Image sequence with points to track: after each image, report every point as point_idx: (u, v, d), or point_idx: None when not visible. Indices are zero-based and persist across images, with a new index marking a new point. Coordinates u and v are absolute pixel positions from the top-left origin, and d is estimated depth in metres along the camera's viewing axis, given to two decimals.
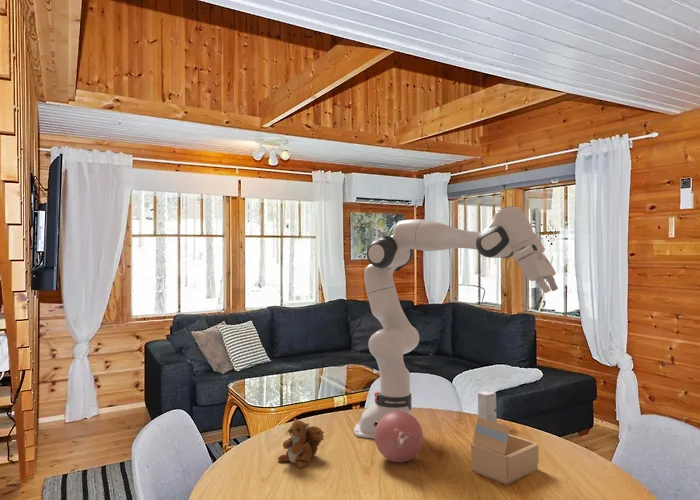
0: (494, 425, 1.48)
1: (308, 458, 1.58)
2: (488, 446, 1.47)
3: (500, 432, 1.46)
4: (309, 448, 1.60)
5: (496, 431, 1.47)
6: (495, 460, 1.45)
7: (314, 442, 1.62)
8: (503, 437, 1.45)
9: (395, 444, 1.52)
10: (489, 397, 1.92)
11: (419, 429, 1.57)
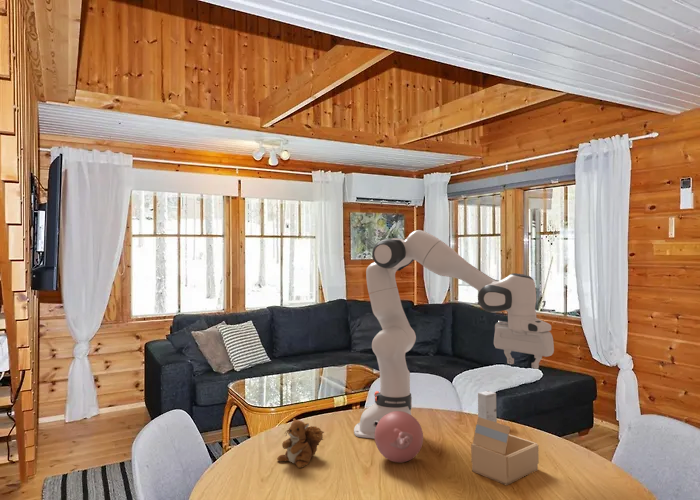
0: (494, 425, 1.48)
1: (307, 458, 1.58)
2: (488, 446, 1.47)
3: (500, 432, 1.46)
4: (308, 448, 1.60)
5: (496, 431, 1.47)
6: (495, 460, 1.45)
7: (313, 442, 1.62)
8: (503, 437, 1.45)
9: (395, 444, 1.52)
10: (489, 397, 1.92)
11: (420, 429, 1.57)
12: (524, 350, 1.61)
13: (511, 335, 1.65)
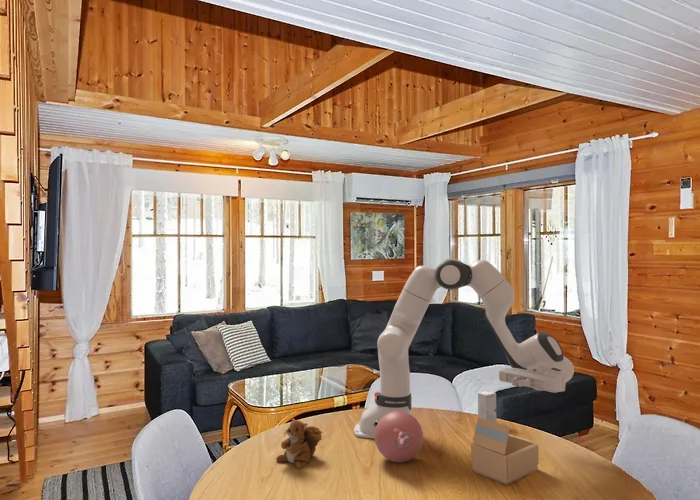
0: (494, 425, 1.48)
1: (306, 458, 1.58)
2: (488, 446, 1.47)
3: (500, 432, 1.46)
4: (307, 448, 1.60)
5: (496, 431, 1.47)
6: (495, 460, 1.45)
7: (312, 442, 1.62)
8: (503, 437, 1.45)
9: (395, 444, 1.52)
10: (489, 397, 1.92)
11: (419, 429, 1.57)
12: (531, 375, 1.58)
13: (525, 371, 1.64)
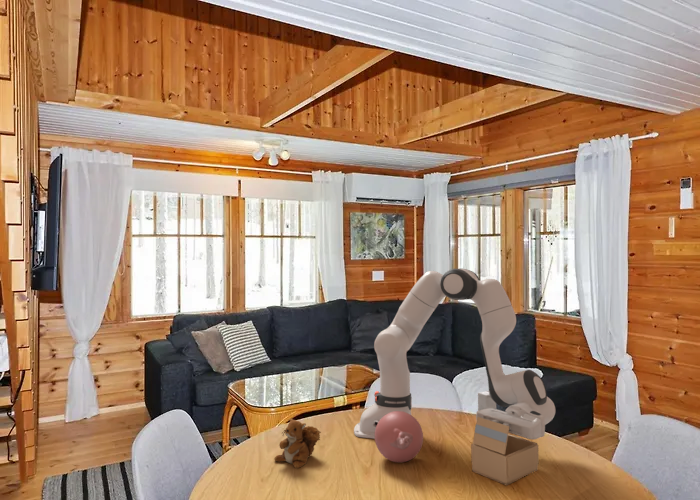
0: (494, 425, 1.48)
1: (305, 458, 1.58)
2: (488, 446, 1.47)
3: (499, 432, 1.46)
4: (305, 448, 1.60)
5: (495, 431, 1.47)
6: (495, 460, 1.45)
7: (310, 442, 1.62)
8: (502, 437, 1.44)
9: (395, 444, 1.52)
10: (489, 397, 1.92)
11: (420, 429, 1.57)
12: (509, 420, 1.50)
13: (503, 414, 1.57)
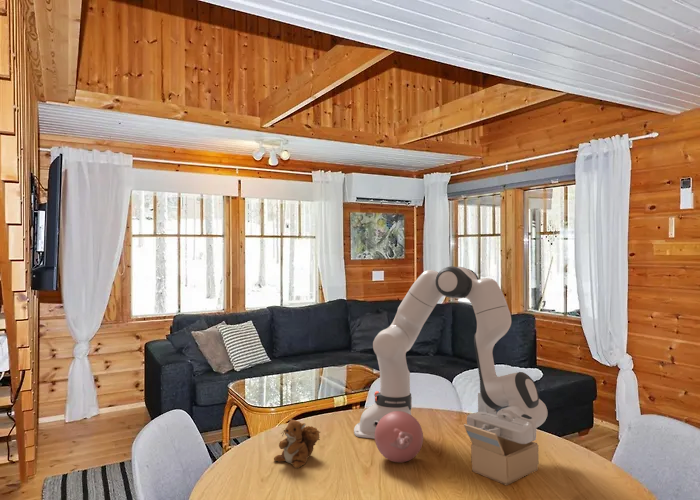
0: (482, 432, 1.44)
1: (304, 458, 1.58)
2: (487, 447, 1.47)
3: (490, 438, 1.43)
4: (305, 448, 1.60)
5: (485, 437, 1.44)
6: (495, 460, 1.45)
7: (310, 442, 1.62)
8: (495, 443, 1.42)
9: (395, 444, 1.52)
10: None
11: (420, 429, 1.57)
12: (499, 424, 1.48)
13: (494, 417, 1.54)
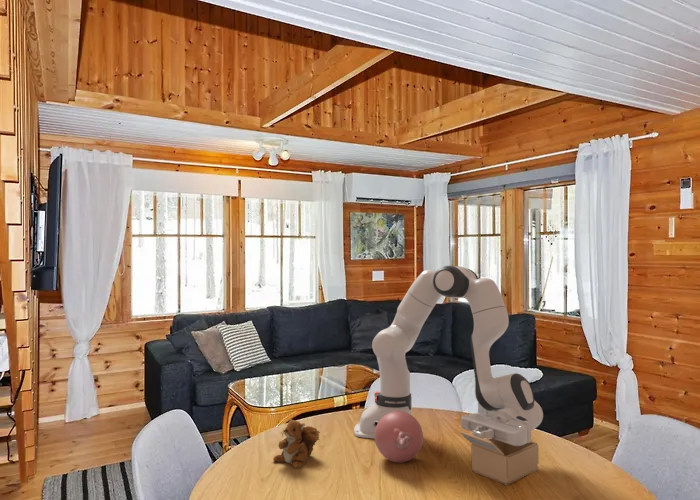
0: (478, 439, 1.43)
1: (304, 458, 1.58)
2: (486, 448, 1.47)
3: (487, 444, 1.42)
4: (305, 448, 1.60)
5: (483, 442, 1.43)
6: (495, 460, 1.45)
7: (310, 442, 1.62)
8: (493, 447, 1.42)
9: (395, 444, 1.52)
10: None
11: (420, 429, 1.57)
12: (494, 426, 1.46)
13: (488, 419, 1.52)
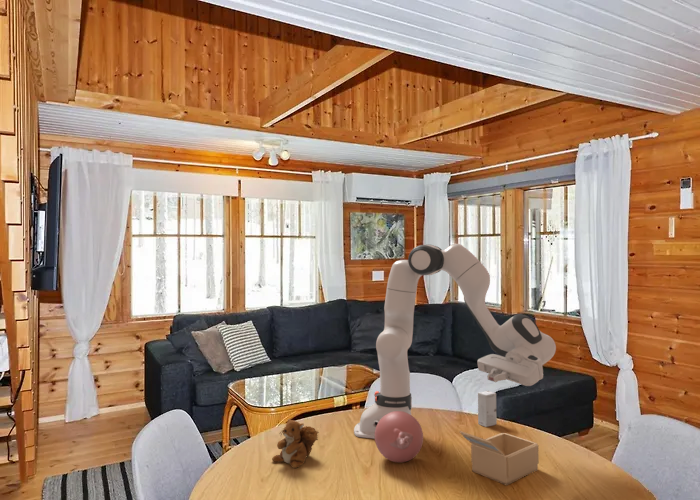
0: (478, 439, 1.43)
1: (302, 458, 1.58)
2: (486, 448, 1.47)
3: (487, 444, 1.42)
4: (303, 448, 1.60)
5: (483, 442, 1.43)
6: (495, 460, 1.45)
7: (308, 442, 1.62)
8: (493, 447, 1.42)
9: (395, 444, 1.52)
10: (489, 397, 1.92)
11: (420, 429, 1.57)
12: (507, 368, 1.56)
13: (503, 360, 1.62)
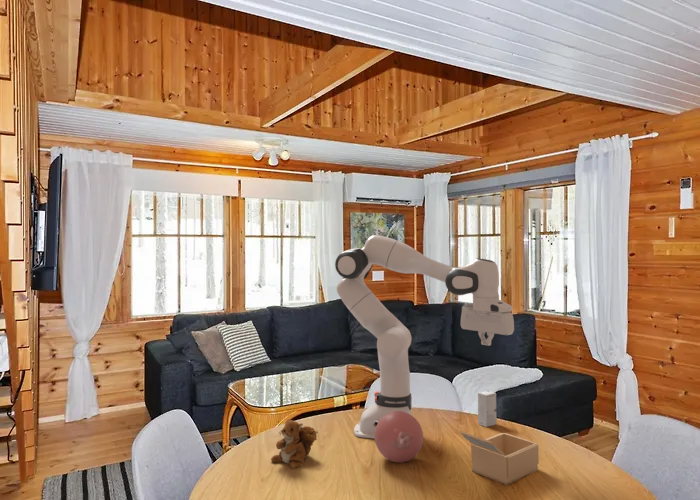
0: (478, 439, 1.43)
1: (301, 458, 1.58)
2: (486, 448, 1.47)
3: (487, 444, 1.42)
4: (302, 448, 1.60)
5: (483, 442, 1.43)
6: (495, 460, 1.45)
7: (307, 442, 1.62)
8: (493, 447, 1.42)
9: (395, 444, 1.52)
10: (489, 397, 1.92)
11: (420, 429, 1.57)
12: (487, 330, 1.72)
13: (476, 316, 1.76)
